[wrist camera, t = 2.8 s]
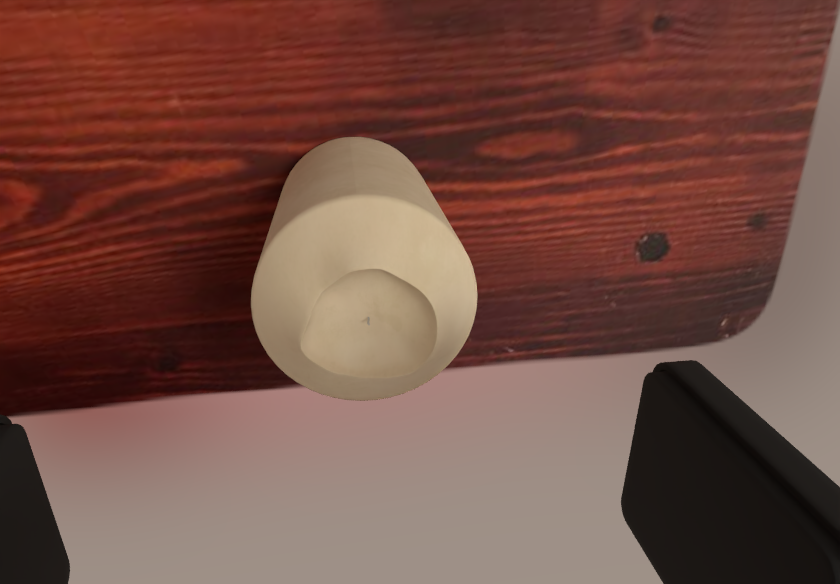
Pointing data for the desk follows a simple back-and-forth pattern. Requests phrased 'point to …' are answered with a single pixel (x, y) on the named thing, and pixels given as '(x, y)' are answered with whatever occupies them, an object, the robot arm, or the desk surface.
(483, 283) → the desk surface
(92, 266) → the desk surface
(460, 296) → the candle
